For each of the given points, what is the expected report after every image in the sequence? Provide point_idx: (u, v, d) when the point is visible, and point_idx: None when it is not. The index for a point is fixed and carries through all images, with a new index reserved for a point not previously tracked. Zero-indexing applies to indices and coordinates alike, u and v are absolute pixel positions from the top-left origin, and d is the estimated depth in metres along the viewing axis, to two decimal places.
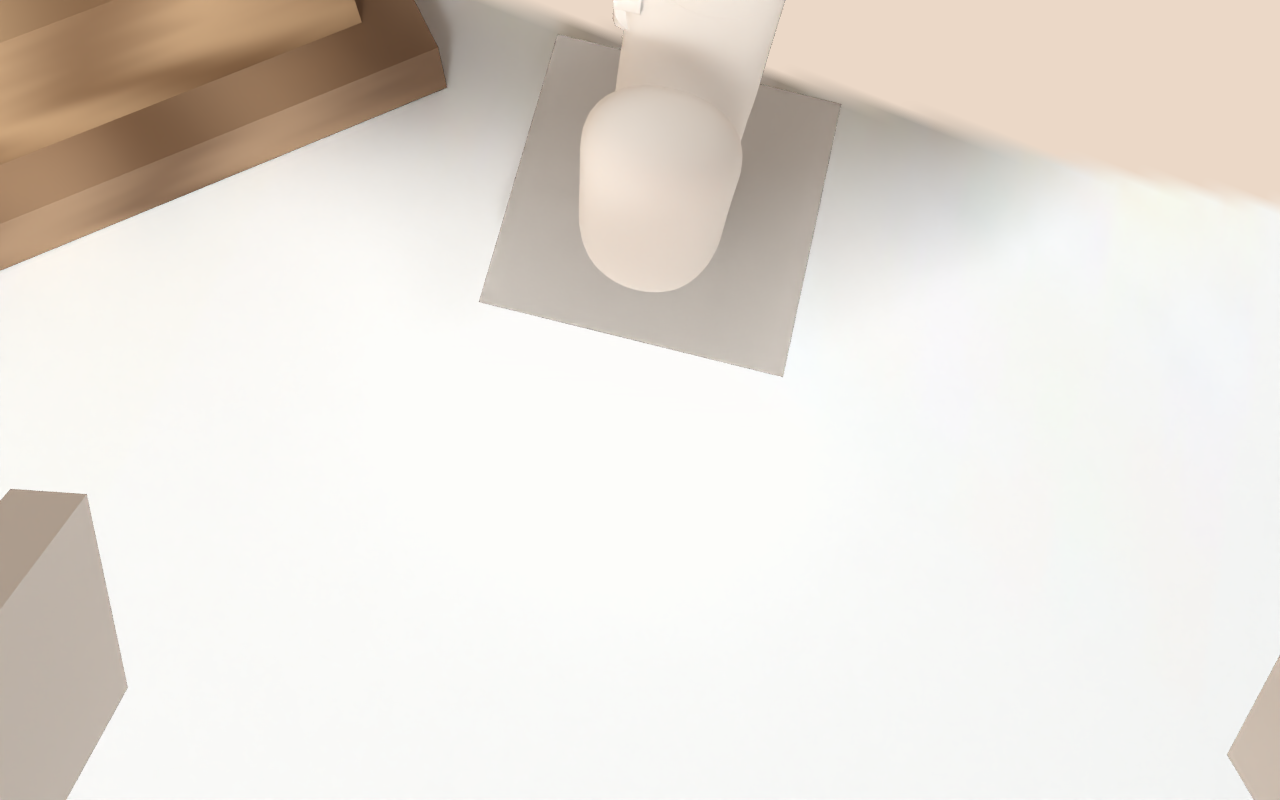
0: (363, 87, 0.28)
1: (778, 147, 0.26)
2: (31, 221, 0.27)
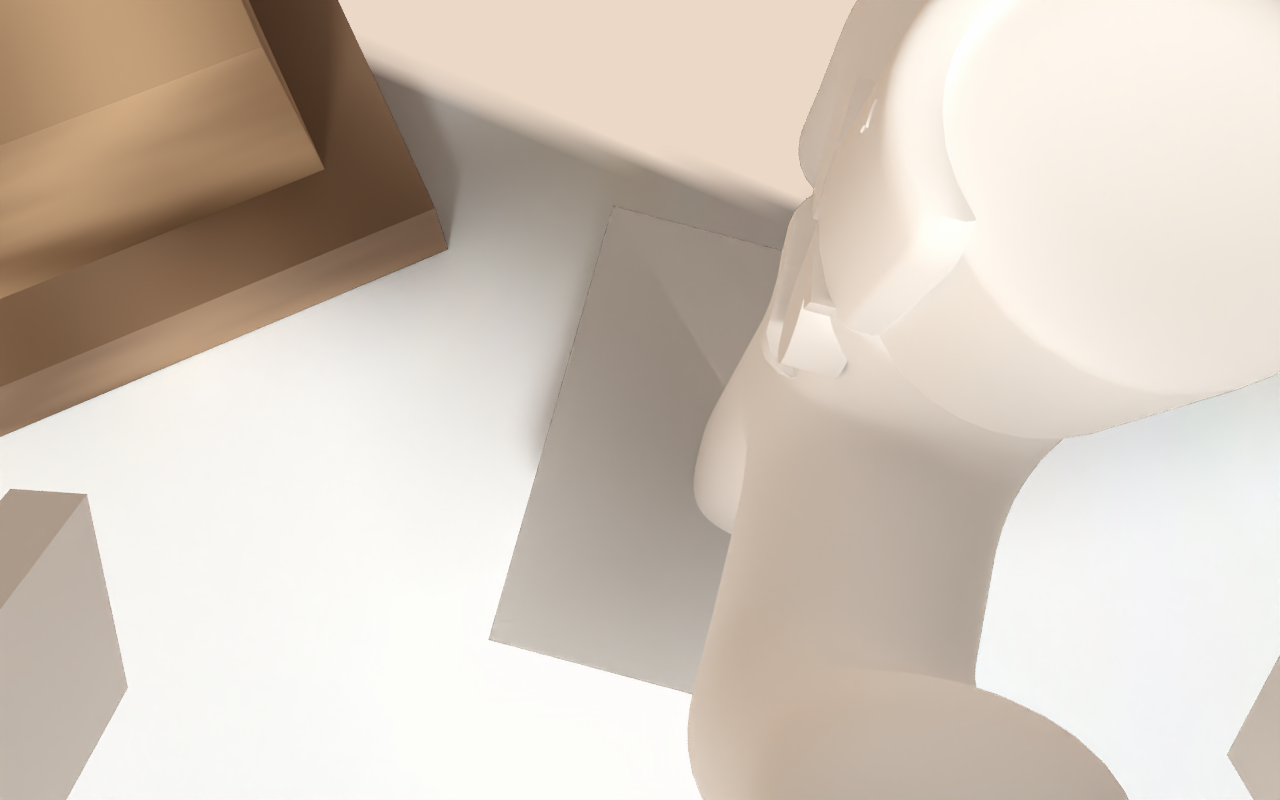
0: (325, 263, 0.19)
1: None
2: None
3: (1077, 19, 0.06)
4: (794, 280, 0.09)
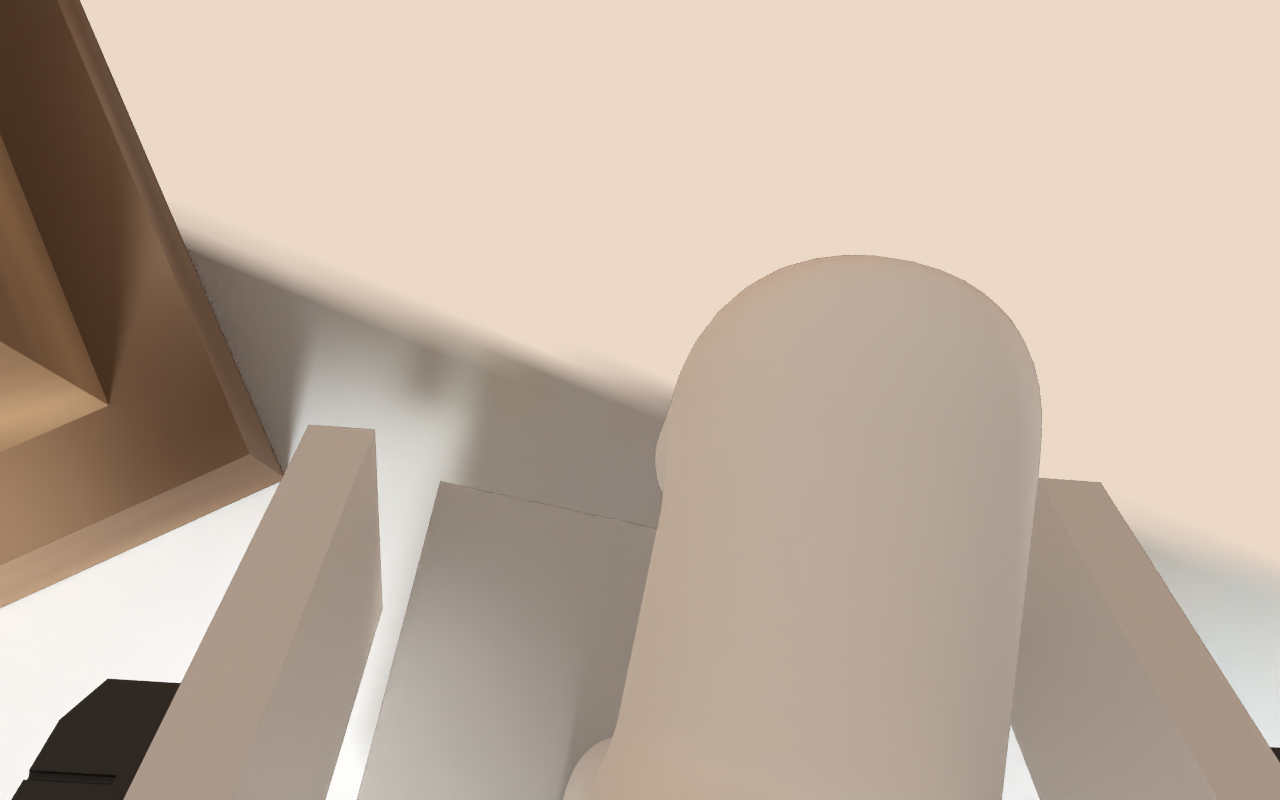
0: (111, 525, 0.15)
1: None
2: None
3: None
4: None
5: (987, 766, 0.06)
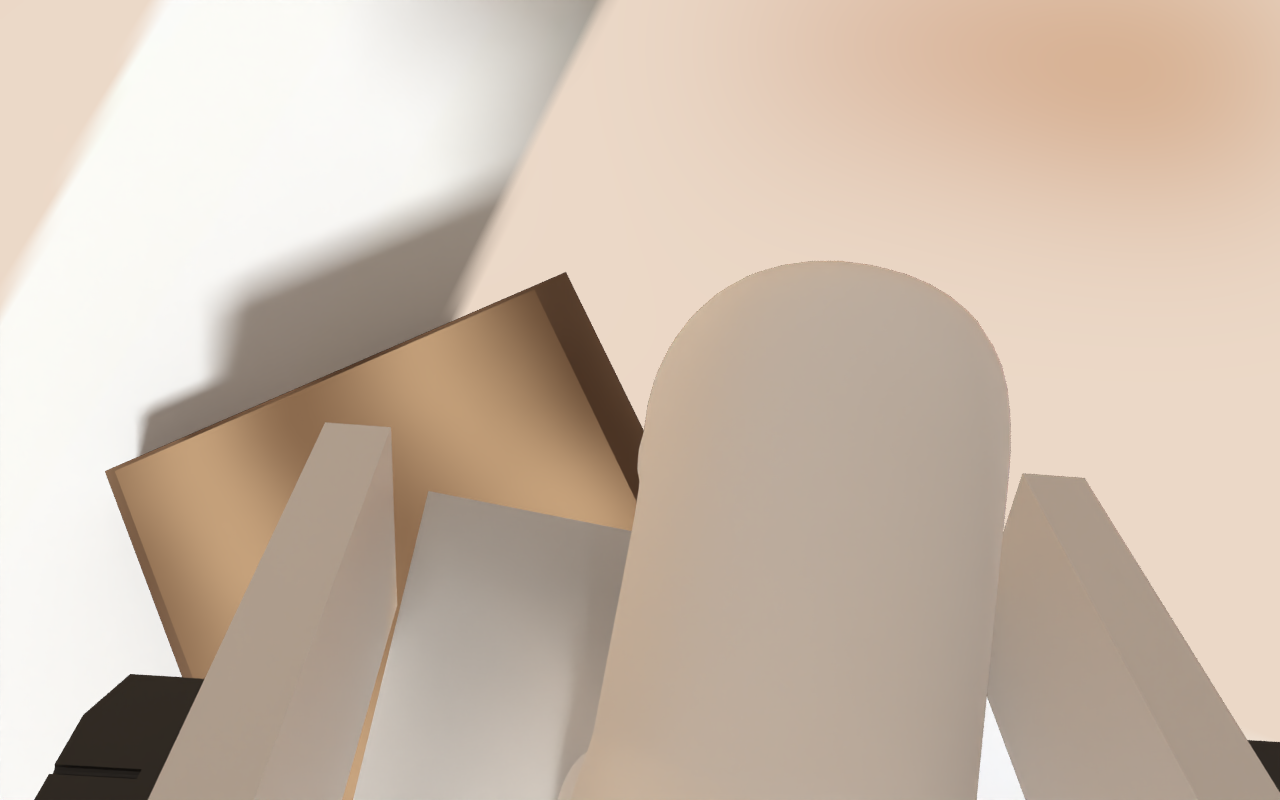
0: None
1: None
2: None
3: None
4: None
5: (958, 770, 0.06)
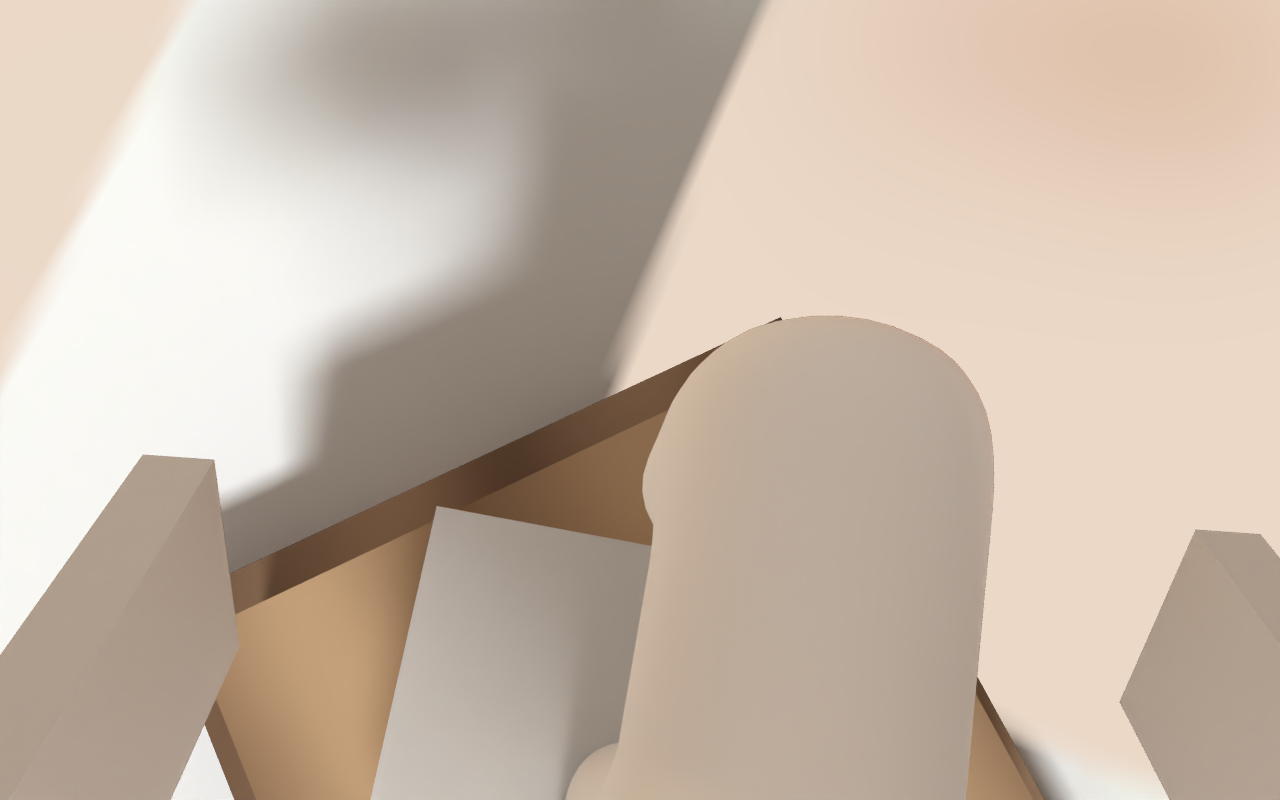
0: None
1: None
2: None
3: None
4: None
5: (950, 781, 0.07)
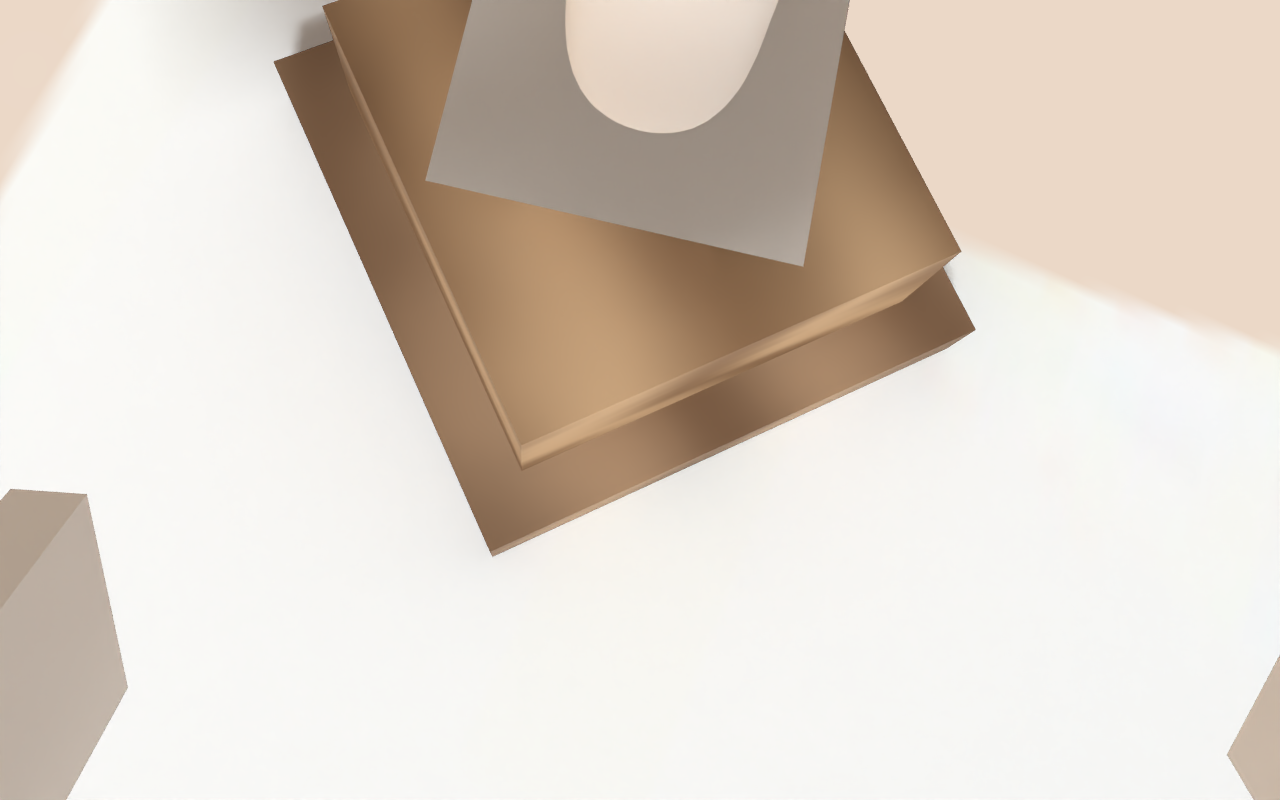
0: (900, 365, 0.29)
1: None
2: (599, 503, 0.27)
3: None
4: None
5: None
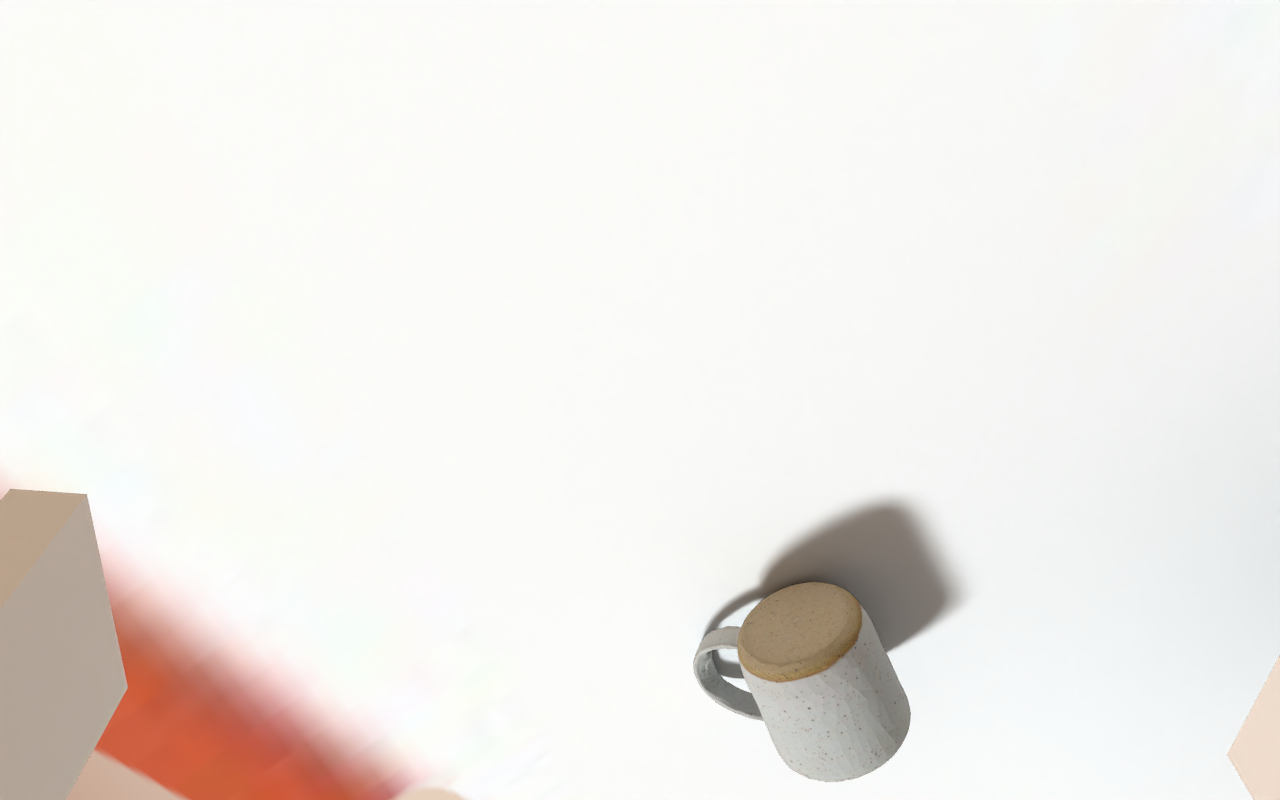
0: None
1: None
2: None
3: None
4: None
5: None
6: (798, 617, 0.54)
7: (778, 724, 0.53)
